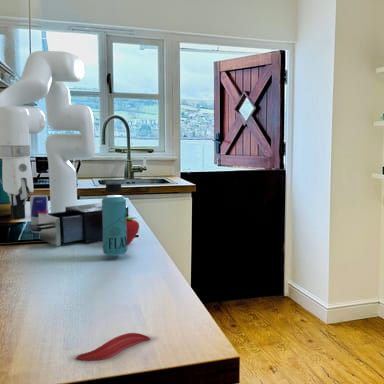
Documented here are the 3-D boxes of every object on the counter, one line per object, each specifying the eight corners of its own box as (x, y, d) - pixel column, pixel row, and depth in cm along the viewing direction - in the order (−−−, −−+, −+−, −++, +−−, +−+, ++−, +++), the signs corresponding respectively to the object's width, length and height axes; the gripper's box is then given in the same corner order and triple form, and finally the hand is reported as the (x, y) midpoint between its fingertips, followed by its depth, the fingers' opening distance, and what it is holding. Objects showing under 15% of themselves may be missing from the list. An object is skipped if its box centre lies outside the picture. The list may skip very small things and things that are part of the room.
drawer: (41, 248, 133) (40, 220, 132) (24, 241, 140) (23, 215, 139) (99, 238, 145) (99, 213, 144) (81, 232, 153) (80, 208, 152)
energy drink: (42, 234, 154) (41, 197, 152) (27, 233, 155) (26, 196, 153) (52, 230, 159) (51, 194, 158) (38, 229, 160) (36, 194, 159)
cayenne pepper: (79, 364, 70) (78, 352, 70) (72, 351, 74) (72, 339, 74) (157, 347, 76) (157, 335, 76) (147, 335, 80) (147, 325, 80)
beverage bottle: (105, 262, 123) (103, 184, 120) (100, 256, 129) (98, 182, 126) (130, 259, 126) (129, 183, 123) (124, 253, 132) (122, 181, 129)
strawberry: (111, 244, 142) (110, 210, 141) (136, 241, 146) (135, 209, 145) (117, 248, 137) (116, 214, 136) (142, 245, 141) (142, 212, 140)
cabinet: (86, 244, 142) (85, 212, 140) (66, 237, 150) (65, 206, 149) (128, 236, 152) (128, 206, 151) (107, 230, 161) (107, 202, 159)
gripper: (40, 153, 128) (43, 220, 130) (18, 151, 138) (21, 213, 141) (11, 153, 123) (14, 224, 125) (-10, 151, 133) (-6, 216, 135)
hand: (18, 218), depth 133 cm, fingers closed
